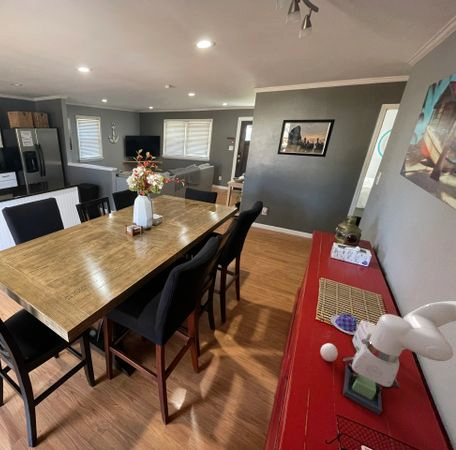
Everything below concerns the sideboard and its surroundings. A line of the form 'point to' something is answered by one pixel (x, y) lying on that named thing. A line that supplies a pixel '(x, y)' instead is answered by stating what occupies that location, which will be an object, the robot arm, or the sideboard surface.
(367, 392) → the green block
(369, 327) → the ink box
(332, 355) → the egg
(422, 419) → the sideboard surface
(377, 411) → the holder
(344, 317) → the patterned bowl
